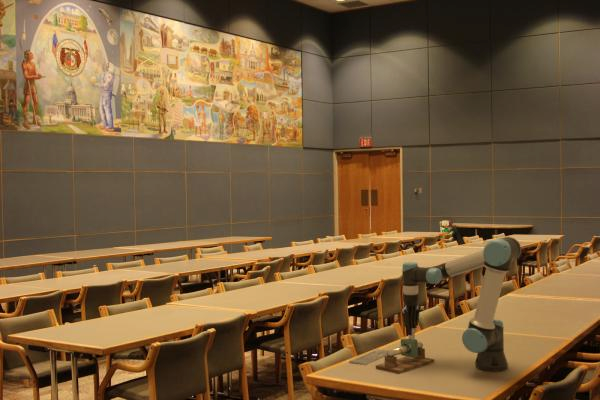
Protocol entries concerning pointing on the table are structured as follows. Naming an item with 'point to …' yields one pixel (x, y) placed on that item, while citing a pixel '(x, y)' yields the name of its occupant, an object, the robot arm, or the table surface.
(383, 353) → the keyboard
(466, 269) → the robot arm
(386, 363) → the pipe stand
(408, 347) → the steel pipe
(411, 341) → the collar
